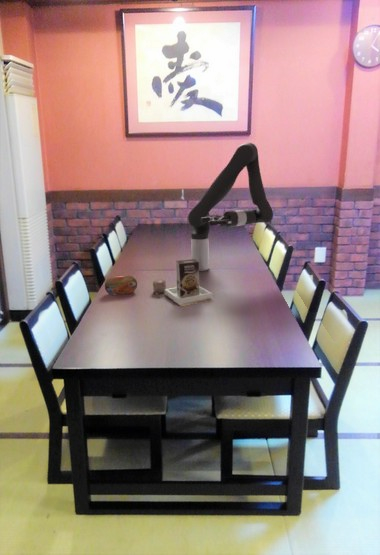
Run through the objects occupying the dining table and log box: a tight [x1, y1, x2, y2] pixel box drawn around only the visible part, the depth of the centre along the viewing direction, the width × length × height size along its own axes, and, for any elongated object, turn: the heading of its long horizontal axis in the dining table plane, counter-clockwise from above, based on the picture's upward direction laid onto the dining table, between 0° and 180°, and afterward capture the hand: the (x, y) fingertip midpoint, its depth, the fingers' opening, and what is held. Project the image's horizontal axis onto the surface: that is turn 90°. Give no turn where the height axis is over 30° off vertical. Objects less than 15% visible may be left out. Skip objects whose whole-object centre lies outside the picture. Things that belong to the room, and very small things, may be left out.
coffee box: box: [175, 258, 200, 298], centre depth 211 cm, size 9×6×16 cm
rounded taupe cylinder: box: [152, 278, 167, 294], centre depth 221 cm, size 6×6×5 cm
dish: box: [164, 285, 213, 306], centre depth 213 cm, size 16×16×3 cm
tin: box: [104, 274, 138, 296], centre depth 221 cm, size 15×3×8 cm, turn 105°
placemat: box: [179, 298, 213, 307], centre depth 214 cm, size 18×15×1 cm
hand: (205, 221), depth 221 cm, fingers open, 8 cm apart
